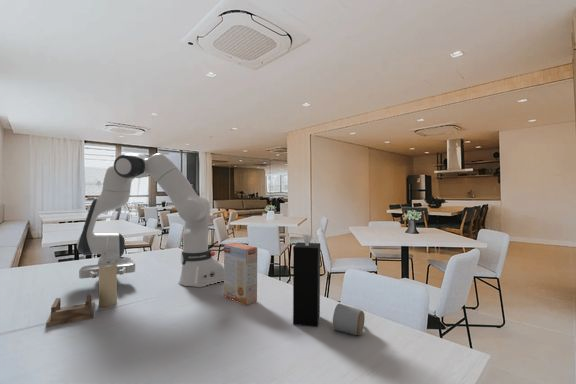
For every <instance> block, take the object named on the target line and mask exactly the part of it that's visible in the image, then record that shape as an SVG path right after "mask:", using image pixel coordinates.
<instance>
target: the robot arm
mask: <svg viewBox="0 0 576 384" xmlns="http://www.w3.org/2000/svg"><path fill="white" fill-rule="evenodd" d="M147 177H152V179H154V180H155V182H156V183H157V184H158V185H159V187H160V188H161V189H162V190H163V191H164V192H165V194H166V195H167V197H168V198H169V199H170V202H171V203H172V205H173V206H174V208H175V209H176V211H177V213H178V215H179V218H181V219H182V220H183V221H184V222H185V223H184V229H183V231H182V251H181V257H180V261H181V273H180V278H179V281H178V283H179V285H181V286H185V287H195V288H202V287H203V288H204V287H206V285H208V286H210V285H209V284H212V285H215V284H214V283H216V284H218V283H217V282H220V283H222V282H221V281H224V264H222V263H221V262H219V261H218V260H217V259H216V258H214V257H215V255H216V252H215V251H214V250H213V251H212V250H210V249H209V227H210V219H211V218H210V217H211V216H210V215H211V203H210V201H209V200H208V198H205V197H204V196H199V195H198V193H197V192H196V190H195V189H194V188H193V186H192V185H191V183H190V181H189V180H188V179H187V177H186V176H185V175H184V174H183V173H182V171H181V170H180V169H179V168H178V166H177V165H176V164H175V163H174V162H173V161H172V160H171V159H170V158H168V157H167V156H166V155H164V154H163V153H155V154H154V153H153V154H152V155H148V154H142V153H123V154H120V155H119V156H117V157H116V158H115V160H114V162H113V165H112V166H109V167H108V168H107V169H106V172H105V174H104V178H103V182H102V190H101V193H100V195H99V196H98V197H97V198H94V199H93V200H92V202H91V204H90V207H89V210H88V212H87V215H86V219H85V222H84V225H83V227H82V231H81V234H80V236H79V238H78V240H77V243H76V249H77V251H78V252H79V254H81V255H83V256H91V255H100V257H99V258H98V261H97V264H91V265H84V266H82V267H81V268H80V269H79V270H78V278H79V279H89V278H92V279H95V278H99V267H100V266H102V265H108V264H116V265H117V275H120V276H121V275H124V274H129V273H135V272H136V262H135V261H134V260H133V259H132V258H131V257H130V256H123V255H124V253H125V248H126V247H125V246H126V245H125V243H126V242H125V238H124V236H123V235H122V234H121V233H120V232H119V233H117V232H104V233H103V232H94V229H95V227H96V222H97V219H98V218H99V216H100V215H102V214H104V213H106V212H111V211H113V210H118V209H120V208H121V207H124V206H126V204H127V203H128V202H129V199H130V195H131V189H132V187H131V186H132V182H133V180H134V179H143V178H147Z"/></svg>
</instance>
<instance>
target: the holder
mask: <svg viewBox="0 0 576 384" xmlns="http://www.w3.org/2000/svg"><path fill="white" fill-rule="evenodd" d="M61 301H62V299H61V297H56V298H55V300H54V301H53V303H52V304H51V308H50V314H49V316H48V318H47V320H46V322H45V327H47V328H48V327H51V326H57V325H63V324H67V323H68V324H69V323H74V322H78V321H85V320H90V319H94V315H95V308H96V302H95V301H94V302H93V301H92V292H88V293H86V298H85V301H84V303H81V304H74V305H67V306H63V307H61Z"/></svg>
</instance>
